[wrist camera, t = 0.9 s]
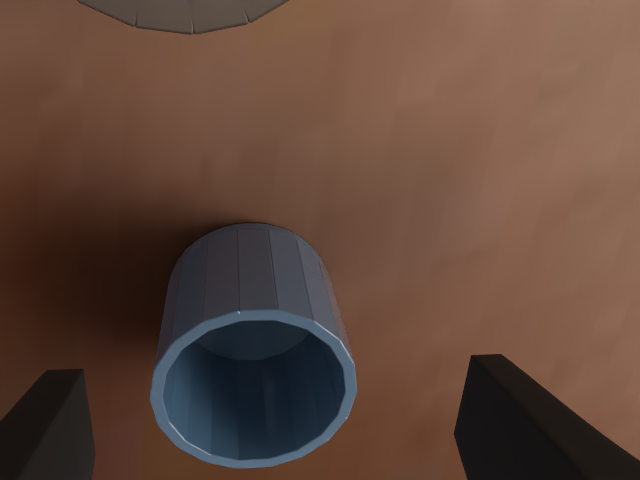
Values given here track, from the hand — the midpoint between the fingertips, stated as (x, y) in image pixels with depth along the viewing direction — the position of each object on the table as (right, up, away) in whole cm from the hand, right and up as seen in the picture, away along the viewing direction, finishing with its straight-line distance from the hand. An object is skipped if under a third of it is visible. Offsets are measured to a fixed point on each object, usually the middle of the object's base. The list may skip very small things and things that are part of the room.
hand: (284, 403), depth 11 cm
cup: (-2, +1, +10) cm, 10 cm away
